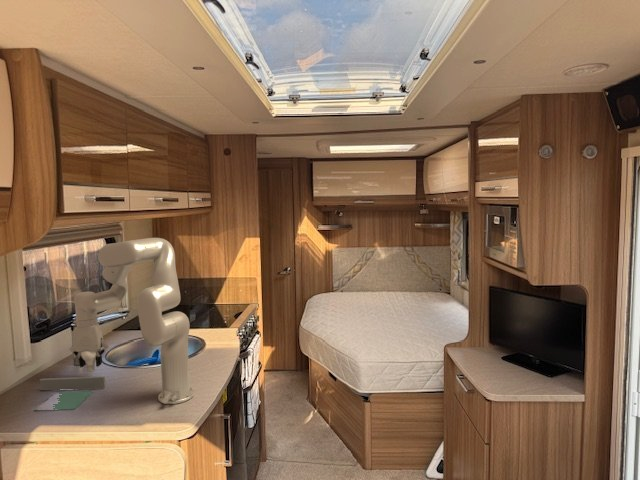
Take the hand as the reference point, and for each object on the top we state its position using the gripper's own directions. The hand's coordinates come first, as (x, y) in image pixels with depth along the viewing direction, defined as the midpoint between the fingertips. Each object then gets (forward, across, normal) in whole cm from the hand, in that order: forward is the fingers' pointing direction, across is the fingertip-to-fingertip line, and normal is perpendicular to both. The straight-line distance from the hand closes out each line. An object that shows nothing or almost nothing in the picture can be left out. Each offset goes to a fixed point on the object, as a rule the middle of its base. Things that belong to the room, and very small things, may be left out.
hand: (90, 365), depth 176 cm
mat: (+6, -1, -20) cm, 21 cm away
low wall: (+6, -3, -10) cm, 12 cm away
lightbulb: (+3, 0, 0) cm, 3 cm away
